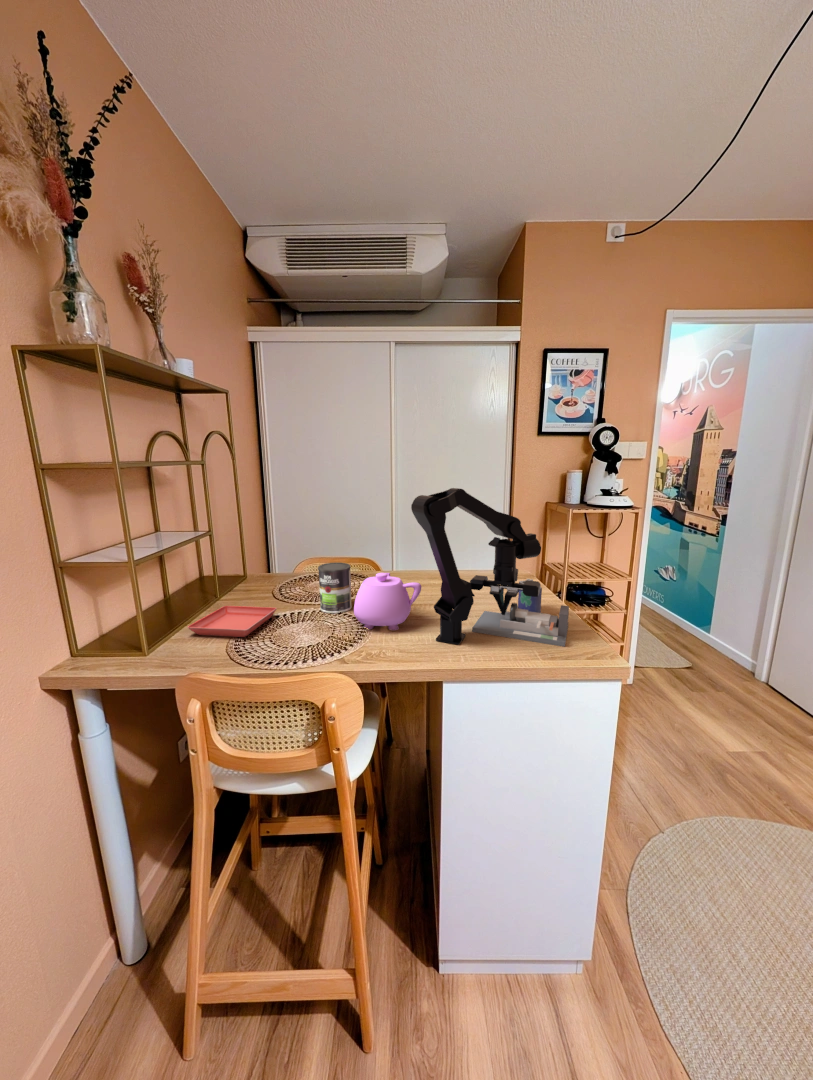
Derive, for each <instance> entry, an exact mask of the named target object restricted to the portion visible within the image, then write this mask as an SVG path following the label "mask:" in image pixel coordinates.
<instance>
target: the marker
mask: <svg viewBox="0 0 813 1080" xmlns="http://www.w3.org/2000/svg"><path fill="white" fill-rule="evenodd" d="M558 618H559V615H554V614H551V617H550V620H549V626H550V629H549V630H553V627H557V622H558Z"/></svg>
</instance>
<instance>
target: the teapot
mask: <svg viewBox="0 0 813 1080" xmlns="http://www.w3.org/2000/svg"><path fill="white" fill-rule="evenodd" d="M407 588H412V589H413V593H412V595H411V598H410V595H409V592H408V590H407ZM421 591H422V584H421V583H419V582H413V581H412V582H408V583H407V582H406V583H404V582H403V581H402V579H401V578H400V577H398V576H391V572H378V573H376V574H375V576H370V577H367V578H365V579H364V580H363V581H362V583H361V585H360V587H359V589H358V591H357V593H356V596H355V599H354V606H353V615H354V617H355V618H356V620H357V621H358V622H359V623H360V624H363V627H366V628H368V629H370V630H373V629H374V627H387V628H388V630H390V631H397V630H399V629H400V628H399V625H401V624H403V623H404V622H405V621H406V619H408V616H409V615H410V613H411V611H412V607H411V606H413V604H414V603H415V602H416V600H417V598H418V597H419V595H420V593H421Z"/></svg>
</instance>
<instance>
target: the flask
mask: <svg viewBox="0 0 813 1080" xmlns="http://www.w3.org/2000/svg"><path fill="white" fill-rule="evenodd" d="M526 580H528V581H534V579H532V578H526ZM526 580H519V582H518V583H520V584H524V583H525V581H526ZM542 592H543V586H542V587H540V593H539V595H538V597H532V596H525V595H524V593H523V591H521V590H519V592H518V594H517V596H518V597H517V598H518V599H517V607H518V609H524V610H528V611H529V612H536V613H542V595H543V593H542Z"/></svg>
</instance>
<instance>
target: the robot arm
mask: <svg viewBox="0 0 813 1080" xmlns="http://www.w3.org/2000/svg"><path fill="white" fill-rule="evenodd" d="M456 508H459V509H461V510H462V511H464V512H466V513H467V514H468V515H470V516H472V517H474V518H476V519H478V520H479V521H480V522H483V523H484V524H485V525H486V527H487V528H488V530H489V531H491V532H492V533H493V534H494V535H496V536H494V537H493V538H492V540H490V541H489V542H488V546H491V547H494V565H493V572H492V573H493V575H494V577H493V579H494V580H493V579H491V580H490V579H488V576H486V575H475V576H474V577H472V578H471V579H470V580H469V581H467V580H465V579H463V578H461V576H460V573H459V570H458V567H457V564H456V560H455V558H454V554H453V551H452V548H451V545H450V542H449V538H448V536H447V532H446V527H445V526H446V521H447V520H446V519H447V514H448V513H449V512H451V511H453V510H454V509H456ZM410 509H411V512H412V514H413V517H414V518H415V520H416V521H417V523H418V524H419V526H420V527H421V528H422V530H423V531H424V532H425V534H426V536H427V540H428V543H429V547H430V548H431V552H432V555H433V557H434V562H435V563H436V566H437V570H438V572H439V573H438V574H439V577H440V578H441V586H440V594H441V597H440V598H439V599H438V600H437V601H436V602H435V604H434V605H433V609H434V612H435V613H436V614H438V615H440V616H439V617H440V618H439V625H440V626H439V630H440V631H439V634H438V636H437V637H435V641H436V642H440V643H445V644H453V645H460V644H461V642H462V641H463V640H464V639H465V637H466V635H467V634H466V633H465V632H463V622H464V621H468V618H469V616H470V612H471V609H472V606H473V605H474V597H475V596H476V595H475V594H474V592H473V590H474V591H481V590H482V589H484V587H487V588H490V590H489V595H492V596H493V598H494V600H495V601H496V604H497V607H498V608H499V611H500V613H501V614H502V615H505V613H506V611H508V608H509V605H510V602H511V601H512V598H516V597H517V596H518V595H519V590H521V591H523V593H524V595H525V596H532V597H538V595H539V593H540V587H541V583H540V582H539V581H534V580H533V581H528V580H526V581H525V580H524V581H525V583H524V584H520V583H519V582H518V583H517V581H518V579H519V577H518V576H519V569H518V568H517V560H525V559H530V558H537V557H539V556H540V554H541V552H542V545H541V543H540V542H539V540H538V538H537V534H536V533H532V532H531V533H526V532H525V530H524V529H523V526H522V521H521V520H520V519H519V518H518V517H516V516H514V515H511V514H507V513H504V512H500V511H498V510H496V509H494V508H492V507H491V506H489V505H488V504H485V503H484V502H483V501H481V500H479V499H478V498H477V497H475V496H473V495H471V494H470V493H468V492H467V491H465V489H463V488H457V487H456V488H454V487H451V488H449V489H446V490H443V491H440V492H436V493H433V494H432V493H431V494H430V495H423V494H420V495H418V496H416V497H415V498H414V499H413V501H412V503H411V507H410ZM446 513H447V514H446ZM498 536H499V537H498ZM501 537H503V538H502V539H501ZM505 590H506V592H504V591H505Z"/></svg>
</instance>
